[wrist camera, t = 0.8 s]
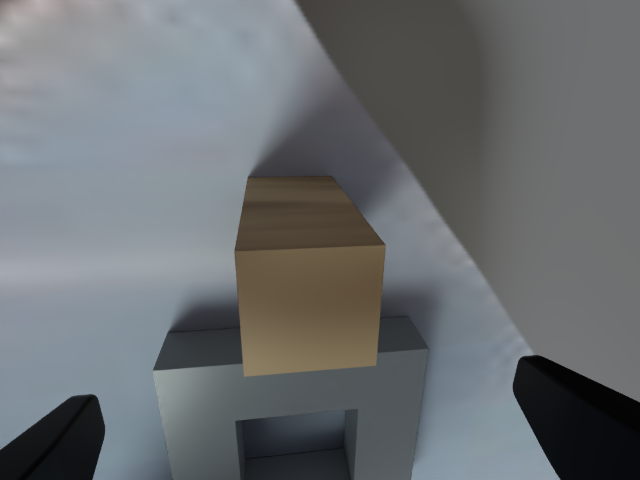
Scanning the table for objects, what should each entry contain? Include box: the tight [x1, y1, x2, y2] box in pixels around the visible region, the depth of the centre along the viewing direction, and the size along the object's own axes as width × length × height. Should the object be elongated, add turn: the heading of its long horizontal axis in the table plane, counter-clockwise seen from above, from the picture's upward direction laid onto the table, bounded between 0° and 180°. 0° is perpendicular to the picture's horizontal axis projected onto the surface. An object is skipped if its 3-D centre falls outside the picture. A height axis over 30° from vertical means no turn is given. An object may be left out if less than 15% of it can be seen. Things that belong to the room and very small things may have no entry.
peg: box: [234, 176, 386, 377], centre depth 15 cm, size 4×4×9 cm
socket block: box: [153, 317, 429, 480], centre depth 22 cm, size 13×13×3 cm
